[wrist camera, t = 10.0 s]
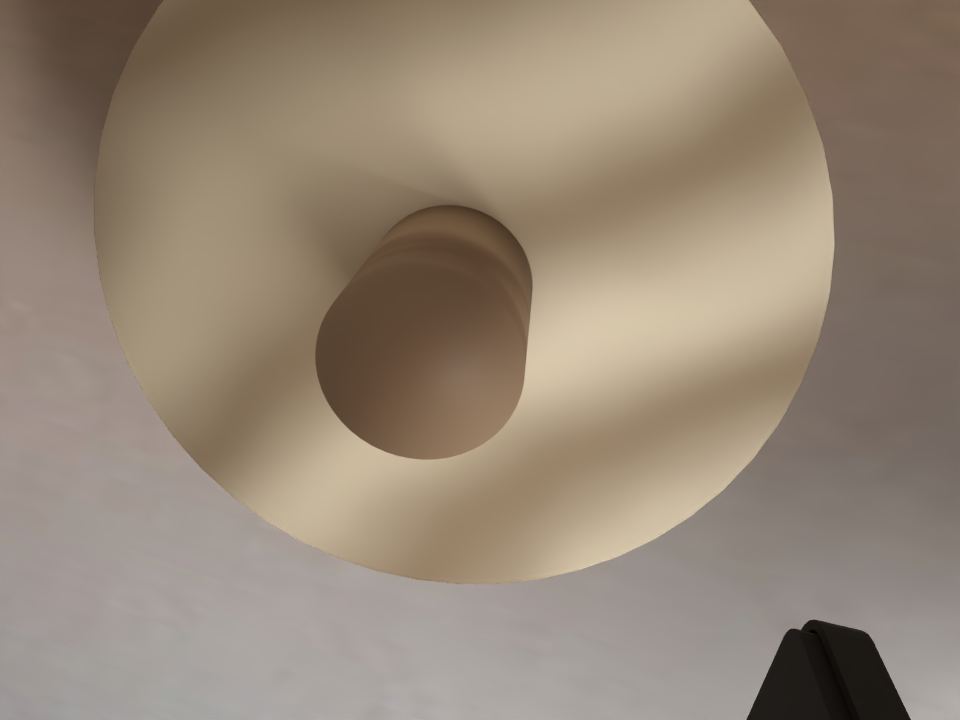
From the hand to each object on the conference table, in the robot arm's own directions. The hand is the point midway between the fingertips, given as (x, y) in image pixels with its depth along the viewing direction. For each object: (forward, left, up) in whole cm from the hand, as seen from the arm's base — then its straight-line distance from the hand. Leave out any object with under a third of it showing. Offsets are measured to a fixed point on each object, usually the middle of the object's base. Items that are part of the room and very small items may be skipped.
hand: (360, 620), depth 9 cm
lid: (0, 0, -13) cm, 13 cm away
